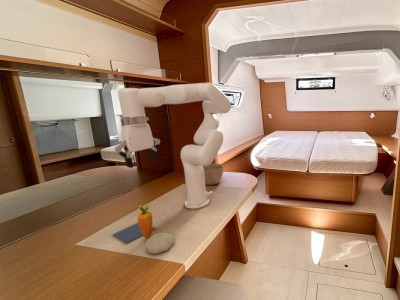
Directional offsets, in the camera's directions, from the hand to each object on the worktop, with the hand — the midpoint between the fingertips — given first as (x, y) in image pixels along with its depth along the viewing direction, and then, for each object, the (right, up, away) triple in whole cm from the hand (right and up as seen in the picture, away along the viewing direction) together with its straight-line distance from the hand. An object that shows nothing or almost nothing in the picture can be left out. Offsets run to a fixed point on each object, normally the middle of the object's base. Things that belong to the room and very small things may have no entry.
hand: (142, 163), depth 88 cm
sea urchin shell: (+11, -31, -7) cm, 33 cm away
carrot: (+4, -30, -3) cm, 30 cm away
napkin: (-5, -29, +3) cm, 29 cm away
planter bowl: (+13, -16, +57) cm, 61 cm away
